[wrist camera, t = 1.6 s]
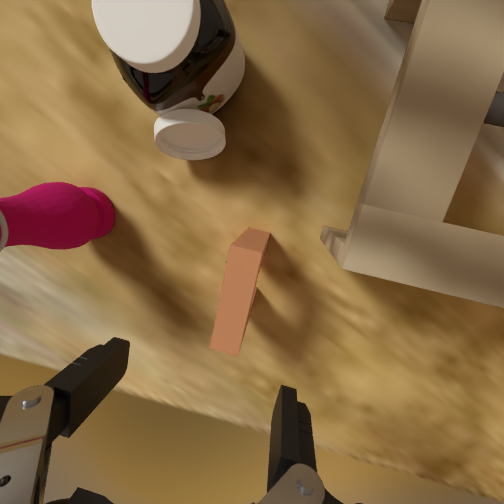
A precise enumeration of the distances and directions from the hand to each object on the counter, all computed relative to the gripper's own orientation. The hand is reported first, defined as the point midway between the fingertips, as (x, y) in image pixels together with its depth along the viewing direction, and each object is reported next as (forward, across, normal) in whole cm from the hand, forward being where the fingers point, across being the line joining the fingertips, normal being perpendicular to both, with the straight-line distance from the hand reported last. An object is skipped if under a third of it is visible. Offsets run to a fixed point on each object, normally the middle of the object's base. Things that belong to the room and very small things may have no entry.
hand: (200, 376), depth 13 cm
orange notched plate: (+19, 0, 0) cm, 19 cm away
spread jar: (+19, +9, -17) cm, 27 cm away
